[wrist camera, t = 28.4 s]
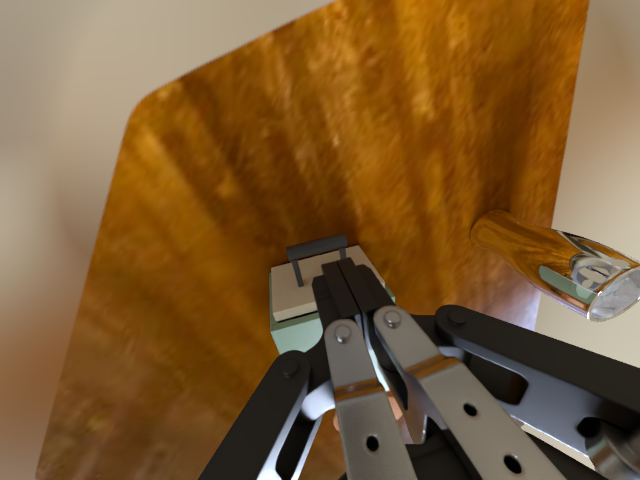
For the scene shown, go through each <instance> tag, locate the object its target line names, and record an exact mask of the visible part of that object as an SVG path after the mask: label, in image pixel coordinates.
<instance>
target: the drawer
mask: <svg viewBox="0 0 640 480" xmlns="http://www.w3.org/2000/svg"><path fill="white" fill-rule="evenodd" d="M347 245H348V242H347V238H346V235H345V233H340V234H336V235H332V236H328V237H324V238H320V239H316V240H312V241H309V242H305V243H301V244H297V245H293V246H289V247H286V252H287V256H288V260H289V261H291V262H292V263H288V264H284V265H280V266H276V267H272V268H271V278H272V308H273V315H274V318H275V321H276V322H277V321H280V320H284V319H285V321H288V320H292V319H295V318H299V317H303V316H306V315H310V312H312V311H316V310H317V306H316V302H315V298H314V294H313V290H312V286H311V285H312V281H313V278H314V277H316V276H320V275H323V273H322V268H321V264H325V263H329V262H332V261H336V260H340V259H344V258H347V257H351V258H352V260H353V262H354V263H355V265H356V266H357V265H361V264H364V265H366V266H367V267H369V268H371V269H372V271H373V272H374V274H375V275H376V277H377V278H378V279H379V281H380V283H381V284H382V285H383V287H384V288H385V282H384V280H383V279H382V278H381V276H380V275H379V273H378V272H377V270H376V269H375V268H374V266H373V265H372V263H371V262H370V261H369V259H368V258H367V256H366V255H365V254H364V252H363V251H362V249H361V248H360V247H359V245H357V246H353V247H349V248H345V246H347ZM338 248H339V250H338V251H334V252H330V253H326V254H322V255H318V256H315V257H311V258H307V259H303V260H299V261H298V260H297V259H299V258H303V257H307V256H311V255H315V254H318V253H322V252H326V251H330V250H334V249H338Z"/></svg>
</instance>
